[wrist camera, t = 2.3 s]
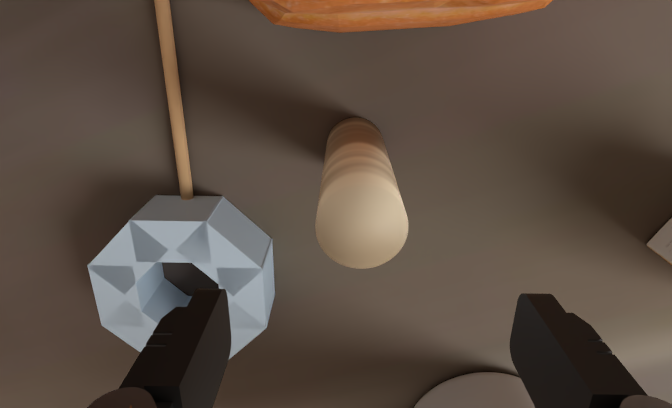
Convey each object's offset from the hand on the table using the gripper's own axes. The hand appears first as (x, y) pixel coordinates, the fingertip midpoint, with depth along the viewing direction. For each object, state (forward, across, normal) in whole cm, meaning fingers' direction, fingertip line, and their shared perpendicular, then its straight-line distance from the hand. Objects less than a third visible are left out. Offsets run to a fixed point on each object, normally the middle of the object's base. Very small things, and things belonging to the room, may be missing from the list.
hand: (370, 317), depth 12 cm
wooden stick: (+17, +11, -5) cm, 21 cm away
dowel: (+17, 0, 0) cm, 17 cm away
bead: (+18, +11, +9) cm, 22 cm away
